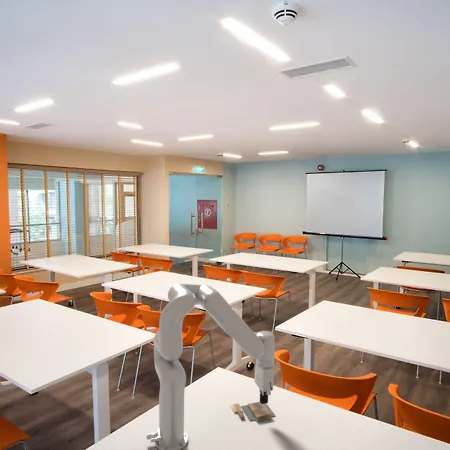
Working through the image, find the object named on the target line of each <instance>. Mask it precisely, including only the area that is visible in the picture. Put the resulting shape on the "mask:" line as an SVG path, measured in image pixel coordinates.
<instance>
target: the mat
mask: <svg viewBox="0 0 450 450" xmlns="http://www.w3.org/2000/svg"><path fill="white" fill-rule="evenodd" d="M264 405H265V406H266V407H267V409H268V410H269V411H270V413H271V414H272V416H271V418H273V417H276V414H275V412H273V410H272V409H271V408H270V406H269V405H268V403H265V404H264ZM240 407H241V409H242V410H243V412H244V413H243V414H245V416H246V418H247V419H248V420H249V422H253V421H256V420H255V418H254V417H253V415H252V414H251V412H250V410H249V409H248V404H244V405H241V406H240Z"/></svg>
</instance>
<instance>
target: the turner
mask: <svg viewBox="0 0 450 450" xmlns="http://www.w3.org/2000/svg"><path fill="white" fill-rule="evenodd" d="M229 407H230V409H231V410H232V412H233V413H234V414H237V415H238V417H239V418H240V420H241V421H242V420H245V419H246V418H245V416H246V415H244V413H243V412H244V411H243V409H242V408H241V406H240V404H239V403H234V404H230V405H229Z"/></svg>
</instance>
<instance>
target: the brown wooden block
mask: <svg viewBox="0 0 450 450" xmlns="http://www.w3.org/2000/svg"><path fill="white" fill-rule="evenodd" d="M247 405H248V409H249V410H250V412H251V414H252V415H253V417H254V418H255V420H254V421H256V422H257V421H263V420H268V419H272V417H271V416H272V414H271V413H270V411H269V410H268V409H267V407H266V406H265V405H264V404H261V403H260V401H256V402H250V403H248V404H247Z"/></svg>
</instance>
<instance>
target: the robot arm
mask: <svg viewBox="0 0 450 450" xmlns="http://www.w3.org/2000/svg"><path fill="white" fill-rule="evenodd" d="M167 292H168V293H167V298H168V301H169V302H168V303H167V304H166V305H165V307H164V308H162V311H161V312H160V316H159V320H158V321H159V324H158V327H159V329H158V330H157V332H156V333H155V334H154V339H153V357H154V360H153V361H154V368H155V369H154V370H155V371H156V374H157V376H158V379H159V385H160V386H159V396H158V405H159V407H158V411H159V412H158V414H159V415H158V423H159V424H158V428H157V431H154V432H152V433H147V434H146V440H150V444H151V443H154V445H155V447H156V448H157V449H158V450H182V449H184V448H185V447H186V446H187V444H188V440H189V435H188V434H187V432H185V388H186V383H187V375H186V374H187V373H186V371H185V369H184V367H183V365H182V363H181V362H180V361H179V359H180V358H181V355H182V353H183V349H184V348H183V346H184V343H183V331H182V330H183V322H184V319H185V317H186V316H187V315H188V314H189V313H191V311H192V310H193V309H194V308H195V306H196V305H198V306H199V305H200V306H201V307H202V309H204V310H205V311H206V313H207V314H208V315H209V316H210V317H211V318H212V319H213V321H215V323H216V324H217V325H218V326H219V327H220V328H221V330H223V331H224V332H225V334H227V335H228V336H229V337H230V338H232V339H233V340H234V342H235V343H237V345H238V348H240V349H241V350H242V351H243V352H244V353H246V355H247V356H249V358H251V359H253V360H255V367H254V383H255V384H256V386H257V387H258V388H259V402H260V403H261V404H265V403H266V404H268V403H269V396H271V393H272V392H271V391H273V390H274V365H275V343H276V342H275V340H276V339H275V334H274V333H273V332H272V331H269V330H261V331H253V329H251V328H250V327H249V325H248V324H247V323H246V322H245V320H244V319H242V317H241V316H240V315H239V314H238V313H237V311H235V309H234V308H233V307H232V305H230V303H229V302H228V301H227V300H226V299H225V297H224V296H222V294H221V293H220V292H219V291H218V290H216V289H215V288H213V287H212V286H210V285H205V284H194V283H193V284H191V283H189V284H188V283H177V284H174V285H172V286H171V287H170V288H169V290H168V291H167Z"/></svg>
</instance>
